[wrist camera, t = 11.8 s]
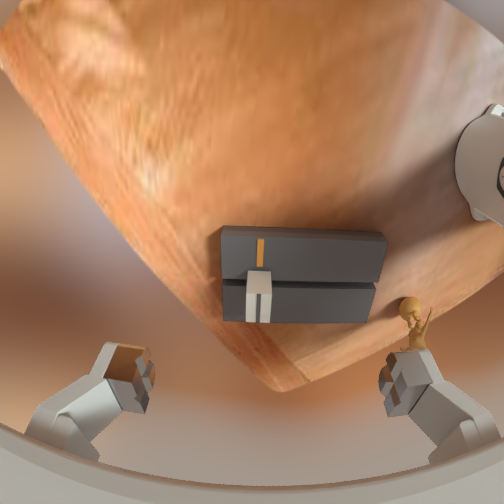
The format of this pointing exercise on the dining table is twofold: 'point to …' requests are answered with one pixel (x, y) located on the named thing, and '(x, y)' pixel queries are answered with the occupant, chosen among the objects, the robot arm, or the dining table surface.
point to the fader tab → (258, 296)
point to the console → (303, 272)
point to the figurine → (411, 312)
